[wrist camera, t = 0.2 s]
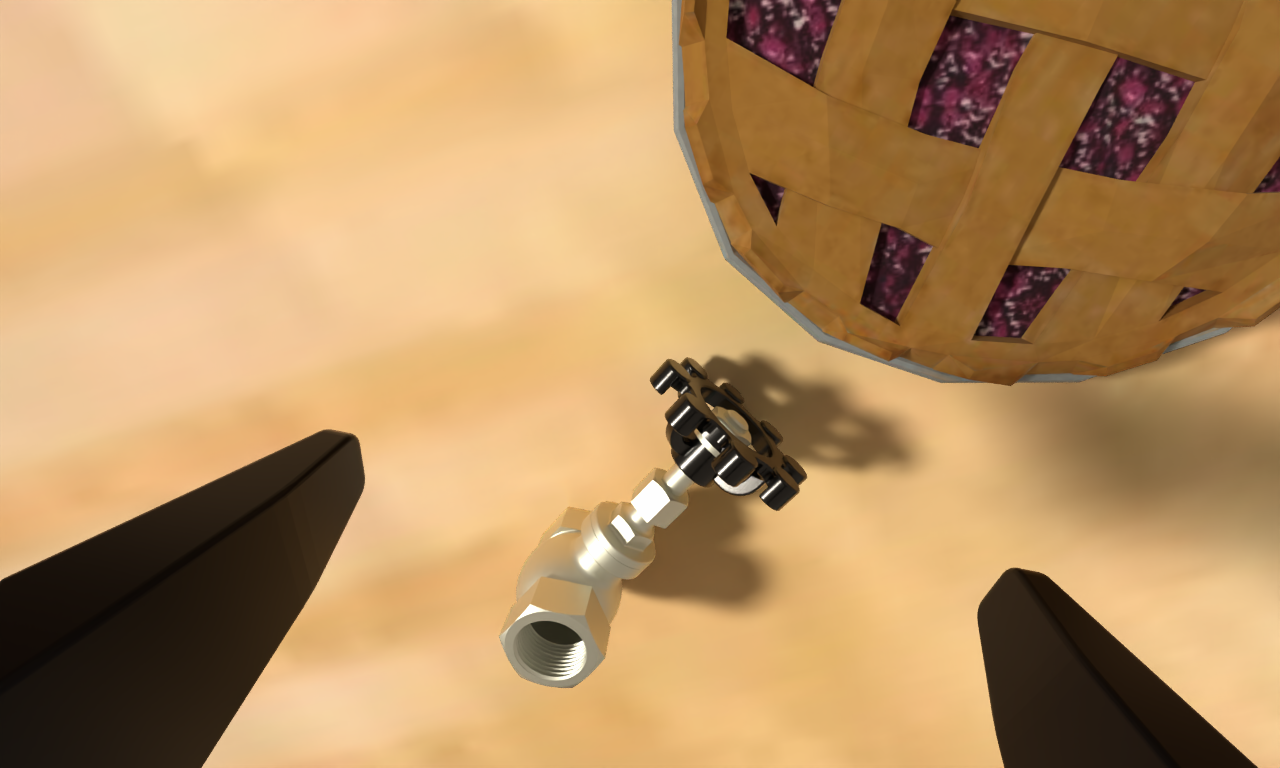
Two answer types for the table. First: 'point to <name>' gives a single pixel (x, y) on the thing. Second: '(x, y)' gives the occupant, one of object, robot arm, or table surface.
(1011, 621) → the robot arm
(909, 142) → the pie
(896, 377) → the table surface
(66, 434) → the table surface
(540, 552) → the valve
